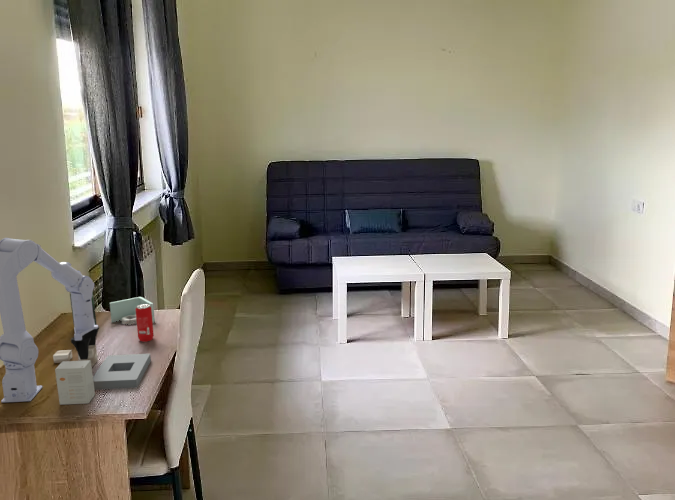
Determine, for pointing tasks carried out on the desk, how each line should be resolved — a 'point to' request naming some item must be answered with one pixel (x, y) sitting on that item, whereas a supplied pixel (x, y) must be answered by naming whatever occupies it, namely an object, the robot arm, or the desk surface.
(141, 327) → the beverage can
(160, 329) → the desk surface
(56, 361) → the short peg
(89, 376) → the small box
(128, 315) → the l-shaped corner panel
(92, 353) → the cream square block
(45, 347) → the desk surface
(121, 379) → the hole board
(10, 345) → the robot arm
